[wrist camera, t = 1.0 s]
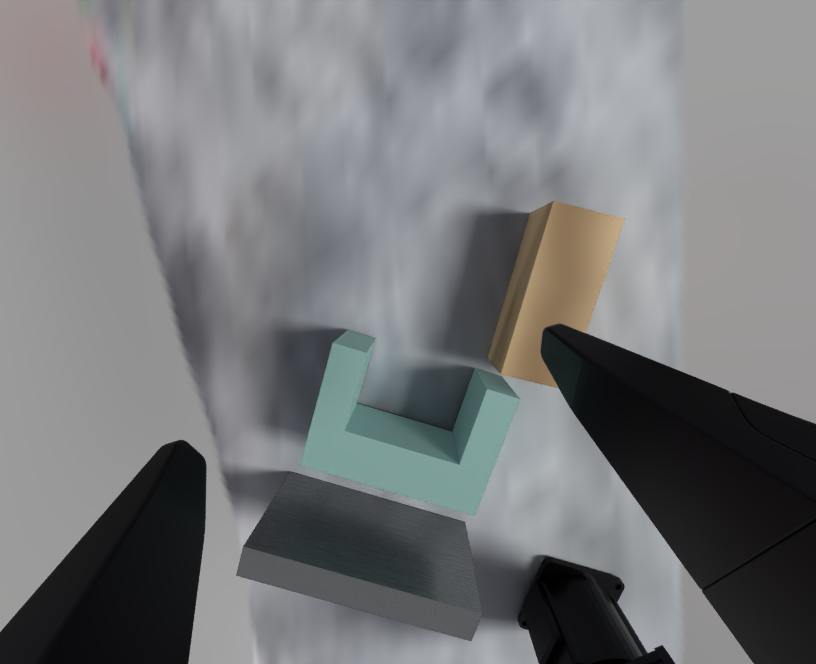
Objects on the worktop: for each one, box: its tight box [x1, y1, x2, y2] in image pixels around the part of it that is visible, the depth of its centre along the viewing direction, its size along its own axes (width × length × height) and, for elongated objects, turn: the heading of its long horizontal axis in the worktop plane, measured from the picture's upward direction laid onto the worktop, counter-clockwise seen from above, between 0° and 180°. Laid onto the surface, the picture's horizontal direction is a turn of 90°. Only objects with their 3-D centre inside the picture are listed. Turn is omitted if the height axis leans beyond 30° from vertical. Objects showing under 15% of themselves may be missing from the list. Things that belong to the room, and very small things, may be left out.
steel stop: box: [236, 472, 483, 641], centre depth 22 cm, size 14×4×7 cm, turn 73°
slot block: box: [300, 330, 520, 516], centre depth 22 cm, size 11×8×4 cm
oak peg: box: [488, 201, 625, 388], centre depth 21 cm, size 4×10×4 cm, turn 167°
